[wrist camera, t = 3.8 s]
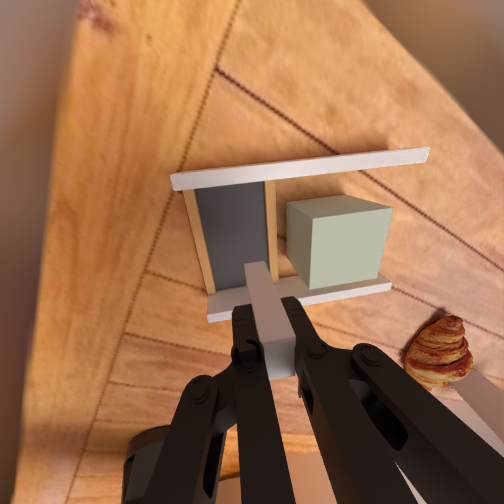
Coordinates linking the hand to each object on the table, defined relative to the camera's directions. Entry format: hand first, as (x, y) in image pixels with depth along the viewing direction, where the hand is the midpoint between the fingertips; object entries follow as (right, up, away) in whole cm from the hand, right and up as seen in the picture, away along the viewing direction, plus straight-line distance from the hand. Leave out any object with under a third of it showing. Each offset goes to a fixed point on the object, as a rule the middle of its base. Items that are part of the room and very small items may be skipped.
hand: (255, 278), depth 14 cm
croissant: (+34, -17, +25) cm, 45 cm away
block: (+7, +5, +9) cm, 13 cm away
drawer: (-2, +3, +8) cm, 9 cm away
